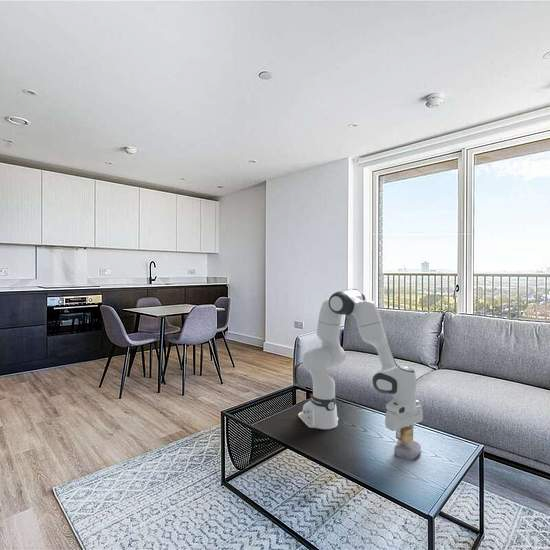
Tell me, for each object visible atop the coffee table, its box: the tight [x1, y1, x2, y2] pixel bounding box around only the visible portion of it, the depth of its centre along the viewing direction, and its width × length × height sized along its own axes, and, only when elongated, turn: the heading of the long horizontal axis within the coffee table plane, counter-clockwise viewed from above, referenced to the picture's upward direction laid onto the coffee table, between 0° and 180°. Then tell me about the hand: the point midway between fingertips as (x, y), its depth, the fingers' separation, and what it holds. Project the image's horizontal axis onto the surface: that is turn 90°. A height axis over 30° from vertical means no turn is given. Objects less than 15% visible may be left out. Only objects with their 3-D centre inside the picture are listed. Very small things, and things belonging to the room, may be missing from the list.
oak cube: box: [395, 426, 414, 443], centre depth 151 cm, size 5×5×5 cm
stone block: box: [393, 439, 422, 461], centre depth 150 cm, size 12×5×10 cm
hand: (404, 435), depth 151 cm, fingers closed on oak cube, 5 cm apart
